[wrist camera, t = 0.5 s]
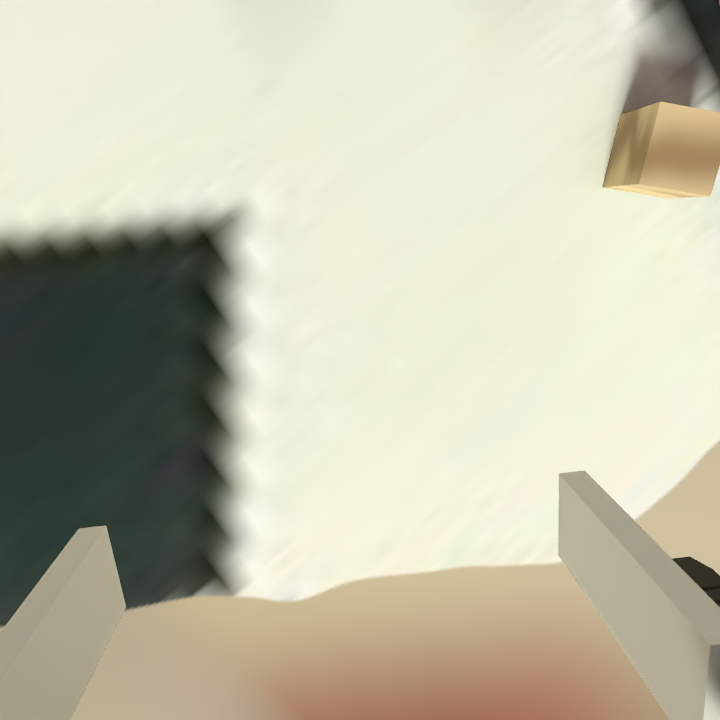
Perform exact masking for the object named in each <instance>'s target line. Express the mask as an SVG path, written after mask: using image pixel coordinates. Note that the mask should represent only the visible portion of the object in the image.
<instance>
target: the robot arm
mask: <svg viewBox="0 0 720 720" xmlns="http://www.w3.org/2000/svg"><path fill="white" fill-rule="evenodd" d="M558 555H559V556H560V558H561V559H562V561H563V562H564V564H565V565H566V567H567V568H568V570H569V571H570V573H571V574H572V576H573V577H574V579H575V580H576V582H577V583H578V584H579V586H580V588H581V589H582V590H583V592H584V593H585V595H586V596H587V598H588V599H589V601H590V602H591V604H592V605H593V607H594V608H595V610H596V611H597V613H598V614H599V616H600V617H601V618H602V620H603V621H604V623H605V624H606V626H607V627H608V629H609V630H610V632H611V633H612V635H613V636H614V638H615V639H616V641H617V642H618V644H619V645H620V647H621V648H622V650H623V651H624V653H625V654H626V655H627V657H628V658H629V660H630V661H631V663H632V664H633V666H634V667H635V669H636V670H637V672H638V673H639V675H640V676H641V678H642V679H643V681H644V682H645V684H646V685H647V687H648V688H649V690H650V691H651V693H652V694H653V695H654V697H655V698H656V700H657V701H658V703H659V704H660V706H661V707H662V709H663V710H664V712H665V713H666V715H667V716H668V718H669V719H670V720H720V576H719V575H718V574H717V573H716V572H715V571H714V570H713V569H711V568H709V567H708V566H706V565H704V564H702V563H700V562H698V561H697V560H695V559H693V558H691V557H684V558H675V559H671V558H670V557H669V556H668V555H667V554H666V553H665V552H664V551H663V550H662V549H661V547H660V546H659V545H657V543H656V542H655V541H654V540H653V539H652V538H651V537H650V536H649V535H648V534H647V533H646V532H645V531H644V530H643V529H642V528H641V527H640V526H639V525H638V524H637V523H636V522H635V521H634V520H633V519H632V518H631V517H630V516H629V515H628V514H627V513H626V512H625V511H624V510H623V509H622V508H621V507H620V506H619V505H618V504H617V503H616V502H615V501H614V500H613V499H612V498H611V497H610V496H609V495H608V494H607V493H606V492H605V491H604V490H603V489H602V488H601V487H600V486H599V485H598V484H597V483H596V482H595V481H594V480H593V479H592V478H591V477H590V476H589V475H588V474H587V473H586V472H585V471H578V472H569V473H560V474H559V551H558ZM125 608H126V605H125V601H124V597H123V593H122V589H121V585H120V581H119V576H118V572H117V568H116V564H115V560H114V556H113V552H112V548H111V544H110V540H109V535H108V531H107V527H106V526H98V527H90V528H81V529H78V530H77V532H76V533H75V534H74V536H73V537H72V538H71V540H70V541H69V542H68V544H67V545H66V546H65V548H64V549H63V550H62V552H61V553H60V554H59V556H58V557H57V558H56V560H55V561H54V562H53V564H52V565H51V566H50V568H49V569H48V570H47V572H46V573H45V574H44V575H43V577H42V578H41V579H40V581H39V582H38V583H37V585H36V586H35V587H34V589H33V590H32V591H31V593H30V594H29V595H28V597H27V598H26V599H25V601H24V602H23V603H22V605H21V606H20V607H19V609H18V610H17V611H16V613H15V614H14V615H13V617H12V618H11V619H10V621H9V622H8V623H7V625H6V626H5V627H4V628H3V630H2V631H1V633H0V720H71V718H72V716H73V714H74V712H75V710H76V708H77V706H78V704H79V702H80V700H81V698H82V696H83V694H84V691H85V689H86V687H87V685H88V683H89V681H90V679H91V677H92V675H93V673H94V671H95V669H96V667H97V665H98V663H99V661H100V659H101V657H102V655H103V653H104V651H105V649H106V647H107V645H108V643H109V640H110V638H111V636H112V634H113V632H114V630H115V628H116V626H117V624H118V622H119V620H120V618H121V616H122V614H123V612H124V610H125Z"/></svg>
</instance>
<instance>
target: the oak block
mask: <svg viewBox="0 0 720 720" xmlns="http://www.w3.org/2000/svg"><path fill="white" fill-rule="evenodd" d="M719 165H720V113H719V112H714V111H709V110H703V109H698V108H693V107H687V106H682V105H677V104H672V103H666V102H658V103H654V104H651V105H648V106H645V107H642V108H639V109H636V110H633V111H630V112H627V113H624V114H621V115H620V119H619V123H618V127H617V131H616V135H615V139H614V143H613V147H612V151H611V155H610V159H609V163H608V167H607V171H606V175H605V179H604V184H603V187H604V188H610V189H616V190H622V191H627V192H633V193H639V194H645V195H651V196H657V197H662V198H682V197H707V196H710V195H711V192H712V189H713V185H714V182H715V179H716V175H717V172H718V169H719Z"/></svg>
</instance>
